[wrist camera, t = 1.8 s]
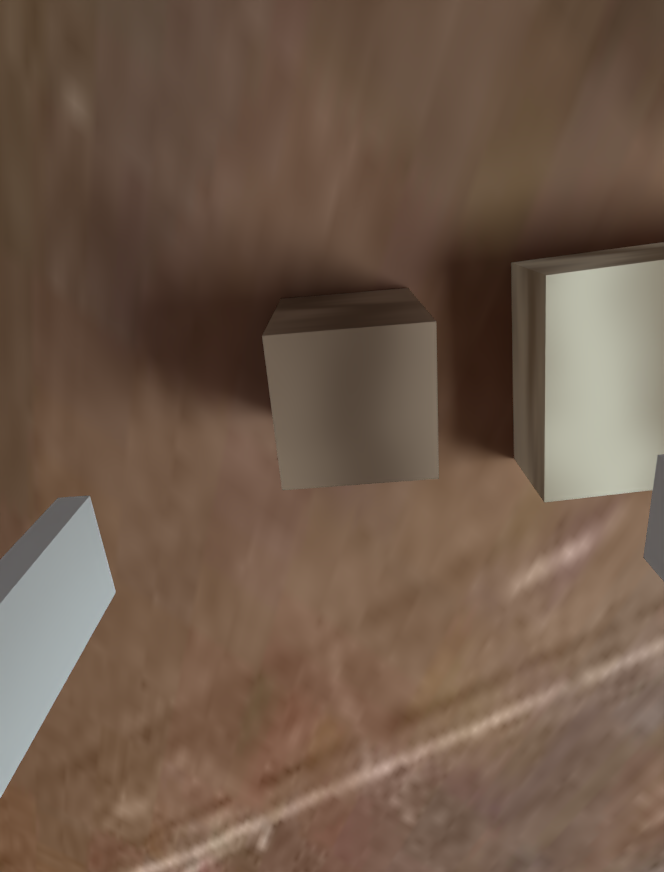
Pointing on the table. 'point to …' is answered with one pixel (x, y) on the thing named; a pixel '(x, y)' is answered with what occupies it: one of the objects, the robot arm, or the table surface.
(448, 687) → the table surface
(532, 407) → the pale square block
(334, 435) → the walnut block
